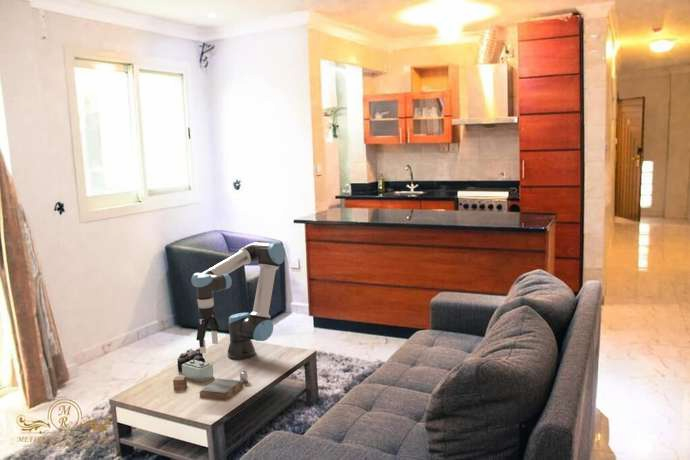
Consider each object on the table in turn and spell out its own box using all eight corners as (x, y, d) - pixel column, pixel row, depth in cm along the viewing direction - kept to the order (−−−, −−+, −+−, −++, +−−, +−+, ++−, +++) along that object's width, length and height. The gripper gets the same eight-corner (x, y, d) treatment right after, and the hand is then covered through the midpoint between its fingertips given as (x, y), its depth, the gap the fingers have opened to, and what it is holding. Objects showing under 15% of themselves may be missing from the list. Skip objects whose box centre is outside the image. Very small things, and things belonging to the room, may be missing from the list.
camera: (189, 375, 297) (187, 356, 296) (176, 371, 303) (174, 353, 301) (212, 365, 309) (211, 347, 308) (199, 362, 315) (198, 344, 314)
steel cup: (242, 380, 287) (241, 370, 286) (249, 381, 285) (248, 371, 285) (239, 383, 283) (238, 373, 283) (245, 383, 282) (245, 374, 281)
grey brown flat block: (217, 383, 283) (217, 378, 283) (242, 386, 279) (242, 380, 279) (199, 396, 268) (199, 390, 268) (226, 399, 264) (225, 393, 264)
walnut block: (176, 385, 283) (175, 376, 283) (186, 385, 283) (185, 375, 283) (173, 389, 278) (173, 380, 278) (184, 389, 278) (183, 379, 278)
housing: (194, 372, 300) (193, 357, 299) (213, 377, 293) (212, 361, 292) (182, 377, 294) (181, 362, 293) (201, 382, 286) (200, 366, 285)
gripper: (210, 299, 294) (213, 339, 297) (186, 313, 270) (190, 356, 273) (223, 300, 293) (226, 340, 295) (201, 313, 268) (205, 357, 271)
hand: (209, 348), depth 284 cm, fingers open, 13 cm apart
